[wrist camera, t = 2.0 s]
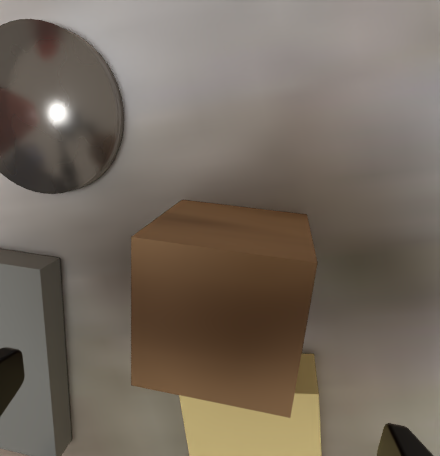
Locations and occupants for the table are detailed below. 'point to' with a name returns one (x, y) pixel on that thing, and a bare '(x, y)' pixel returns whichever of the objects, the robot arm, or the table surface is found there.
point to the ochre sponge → (257, 424)
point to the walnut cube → (222, 304)
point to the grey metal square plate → (35, 354)
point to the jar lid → (55, 108)
